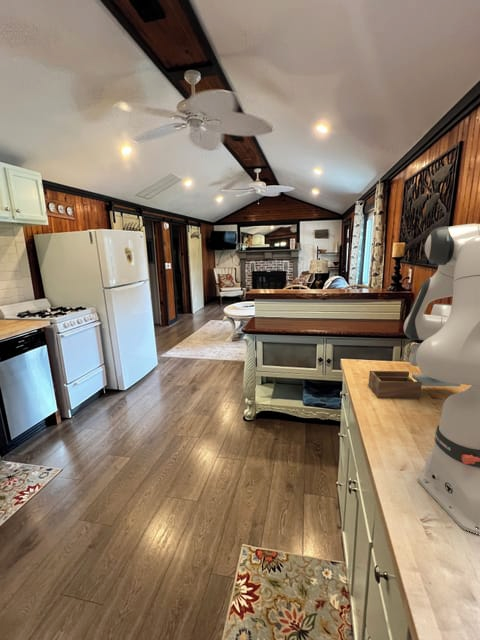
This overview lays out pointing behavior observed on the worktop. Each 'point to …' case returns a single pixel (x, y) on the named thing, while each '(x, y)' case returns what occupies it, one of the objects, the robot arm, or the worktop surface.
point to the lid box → (394, 385)
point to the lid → (431, 381)
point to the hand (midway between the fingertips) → (433, 375)
